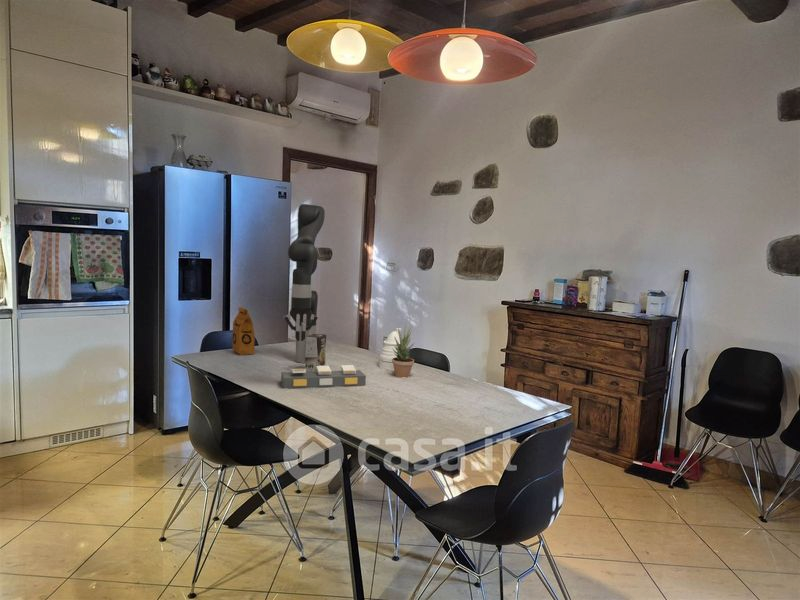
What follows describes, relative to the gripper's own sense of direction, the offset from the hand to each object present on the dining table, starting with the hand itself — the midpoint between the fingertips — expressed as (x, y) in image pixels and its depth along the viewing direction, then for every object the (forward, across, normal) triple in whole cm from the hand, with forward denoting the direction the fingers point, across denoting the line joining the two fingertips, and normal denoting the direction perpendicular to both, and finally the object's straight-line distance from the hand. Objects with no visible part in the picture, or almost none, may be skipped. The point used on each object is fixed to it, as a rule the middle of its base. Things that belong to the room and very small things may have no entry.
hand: (300, 340), depth 217 cm
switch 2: (+12, -10, -2) cm, 16 cm away
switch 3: (+12, -20, -2) cm, 24 cm away
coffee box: (+18, -10, -22) cm, 31 cm away
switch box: (+18, -10, -2) cm, 21 cm away
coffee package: (+18, +18, -66) cm, 71 cm away
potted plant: (+18, -46, -11) cm, 51 cm away
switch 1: (+12, 0, -2) cm, 13 cm away
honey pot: (+18, -47, -28) cm, 58 cm away
